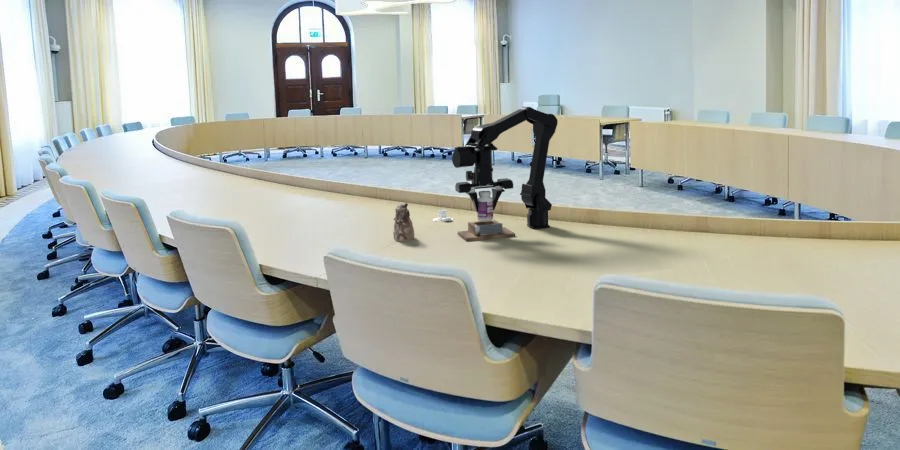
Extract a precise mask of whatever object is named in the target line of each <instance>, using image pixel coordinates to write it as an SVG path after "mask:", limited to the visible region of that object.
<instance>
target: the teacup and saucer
mask: <svg viewBox="0 0 900 450" xmlns="http://www.w3.org/2000/svg"><path fill="white" fill-rule="evenodd" d="M437 213H438V217H435V218H433V219H432V221H433V222H436V221H437V222H438V223H441V222H443V223H446V222H450V221H451V222H452V221H453V220H454V218H453V217H452V216H447V209H438V210H437ZM435 220H436V221H435Z"/></svg>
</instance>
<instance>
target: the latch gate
mask: <svg viewBox="0 0 900 450" xmlns="http://www.w3.org/2000/svg"><path fill="white" fill-rule="evenodd" d="M502 227H503V223H502V222H499V223H496V224H486V225H475V235H482V234H492V233H502V232H503V229H502Z"/></svg>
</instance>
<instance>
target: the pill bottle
mask: <svg viewBox="0 0 900 450" xmlns="http://www.w3.org/2000/svg"><path fill="white" fill-rule="evenodd" d="M491 194H492V191H491V190H480V191H478V197H477V198H478V212H476V213H477V220H478V221H490V220H494V210H493V199H492V196H491Z"/></svg>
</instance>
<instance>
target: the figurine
mask: <svg viewBox="0 0 900 450" xmlns="http://www.w3.org/2000/svg"><path fill="white" fill-rule="evenodd" d="M408 205H409V204H408V203H407V202H405V203H404V204H403V203H400V204H399V205H397V207H395V209H394V210H395V217H394V218H393V221H394V225H393V232H392V233H393V240H395V242H409V241H413V240H414V239H415V228H414V225H413V221H412V219H411V218H410V210H409V209H408Z"/></svg>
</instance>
